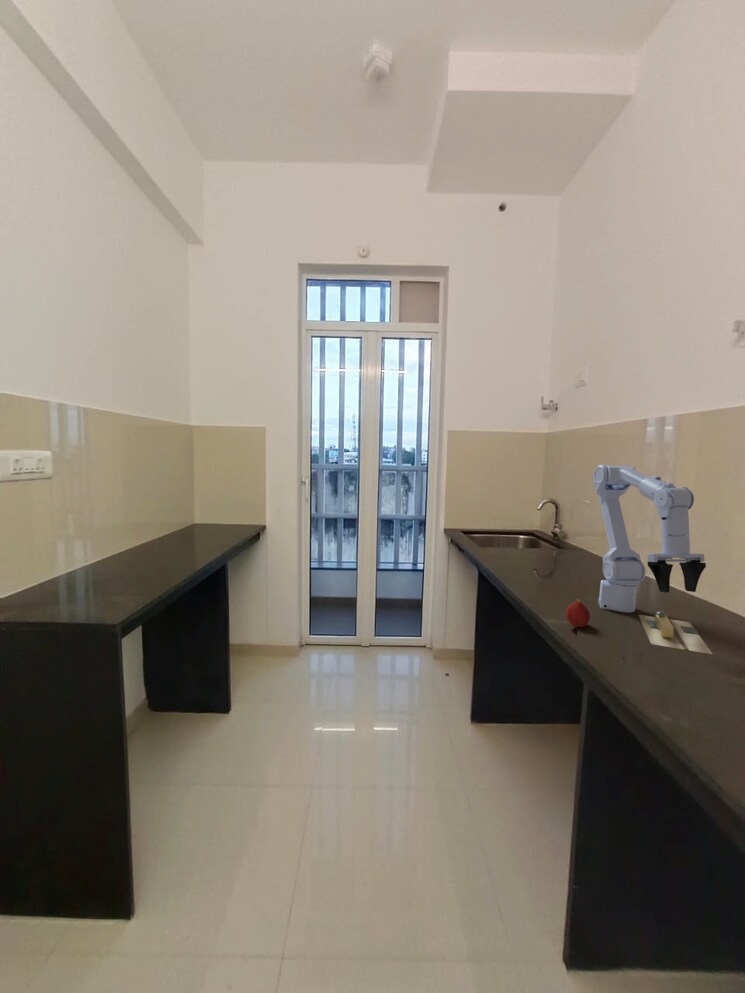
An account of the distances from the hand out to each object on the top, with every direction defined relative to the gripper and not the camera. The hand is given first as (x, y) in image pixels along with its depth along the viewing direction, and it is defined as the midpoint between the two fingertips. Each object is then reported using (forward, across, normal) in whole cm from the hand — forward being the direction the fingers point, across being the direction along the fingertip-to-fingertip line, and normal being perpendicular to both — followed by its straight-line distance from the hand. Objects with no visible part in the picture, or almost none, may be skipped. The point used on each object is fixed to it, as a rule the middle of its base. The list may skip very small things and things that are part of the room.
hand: (677, 591), depth 106 cm
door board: (+12, +3, +5) cm, 14 cm away
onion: (+11, -18, +13) cm, 25 cm away
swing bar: (+11, +1, +6) cm, 12 cm away
